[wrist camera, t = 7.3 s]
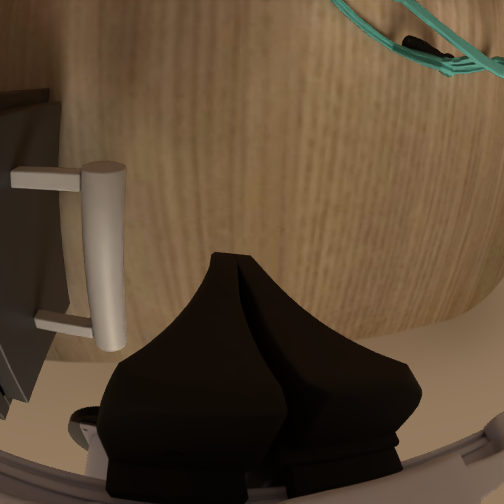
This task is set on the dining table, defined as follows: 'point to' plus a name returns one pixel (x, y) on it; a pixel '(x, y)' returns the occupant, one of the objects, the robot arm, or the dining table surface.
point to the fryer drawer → (53, 246)
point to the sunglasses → (424, 51)
